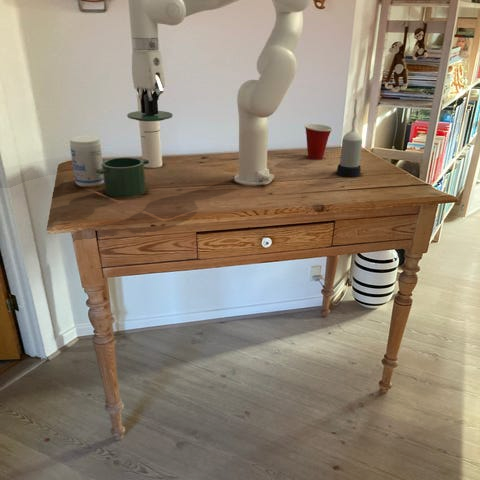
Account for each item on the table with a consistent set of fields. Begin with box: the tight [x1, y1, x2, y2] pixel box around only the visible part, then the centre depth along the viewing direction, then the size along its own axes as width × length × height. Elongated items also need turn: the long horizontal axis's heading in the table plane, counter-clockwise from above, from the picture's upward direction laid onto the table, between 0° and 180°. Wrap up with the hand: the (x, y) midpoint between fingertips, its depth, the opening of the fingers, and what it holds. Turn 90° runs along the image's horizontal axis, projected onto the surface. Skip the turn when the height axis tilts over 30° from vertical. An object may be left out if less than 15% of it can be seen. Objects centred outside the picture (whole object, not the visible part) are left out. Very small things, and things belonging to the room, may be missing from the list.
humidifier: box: [336, 98, 363, 178], centre depth 180 cm, size 8×8×25 cm
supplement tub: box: [69, 135, 104, 188], centre depth 171 cm, size 10×10×15 cm
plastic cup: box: [304, 123, 334, 160], centre depth 203 cm, size 11×11×12 cm
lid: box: [126, 94, 174, 122], centre depth 157 cm, size 14×14×7 cm
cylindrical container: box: [136, 91, 163, 169], centre depth 189 cm, size 7×7×25 cm
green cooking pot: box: [96, 156, 149, 199], centre depth 165 cm, size 13×18×10 cm
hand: (149, 113), depth 158 cm, fingers closed on lid, 2 cm apart
